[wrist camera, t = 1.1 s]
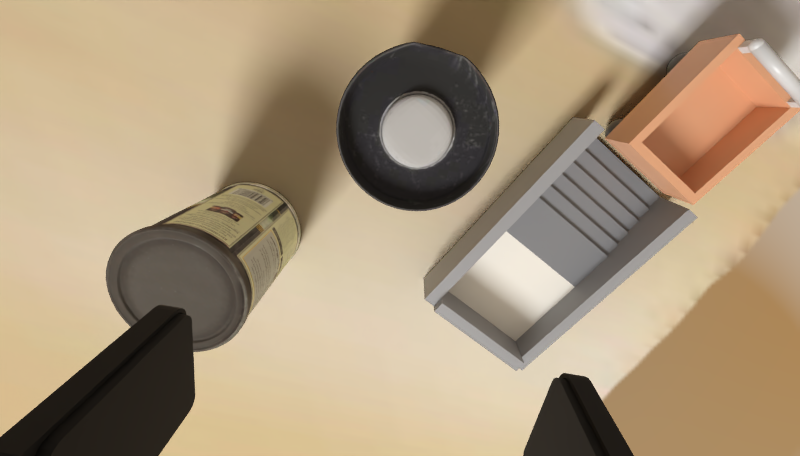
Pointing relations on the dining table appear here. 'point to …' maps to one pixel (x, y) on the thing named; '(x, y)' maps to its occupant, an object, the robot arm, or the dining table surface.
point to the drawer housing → (551, 247)
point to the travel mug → (417, 127)
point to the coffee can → (207, 261)
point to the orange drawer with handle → (707, 115)
